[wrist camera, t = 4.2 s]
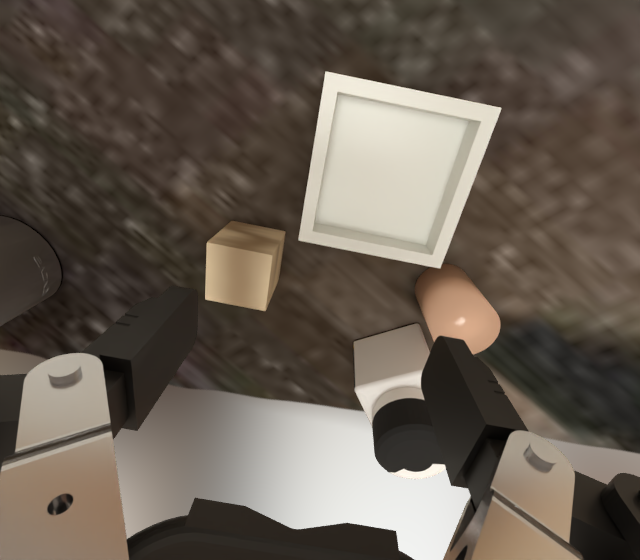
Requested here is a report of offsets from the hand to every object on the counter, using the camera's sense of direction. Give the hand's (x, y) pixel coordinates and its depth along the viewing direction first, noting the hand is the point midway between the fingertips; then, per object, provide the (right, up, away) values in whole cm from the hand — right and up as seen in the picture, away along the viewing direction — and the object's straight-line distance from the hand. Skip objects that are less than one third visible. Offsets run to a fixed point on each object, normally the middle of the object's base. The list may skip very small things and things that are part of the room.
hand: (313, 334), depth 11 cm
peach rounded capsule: (+12, +1, +20) cm, 24 cm away
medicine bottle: (+8, -6, +24) cm, 27 cm away
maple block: (-6, +5, +20) cm, 21 cm away
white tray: (+6, +10, +16) cm, 20 cm away
